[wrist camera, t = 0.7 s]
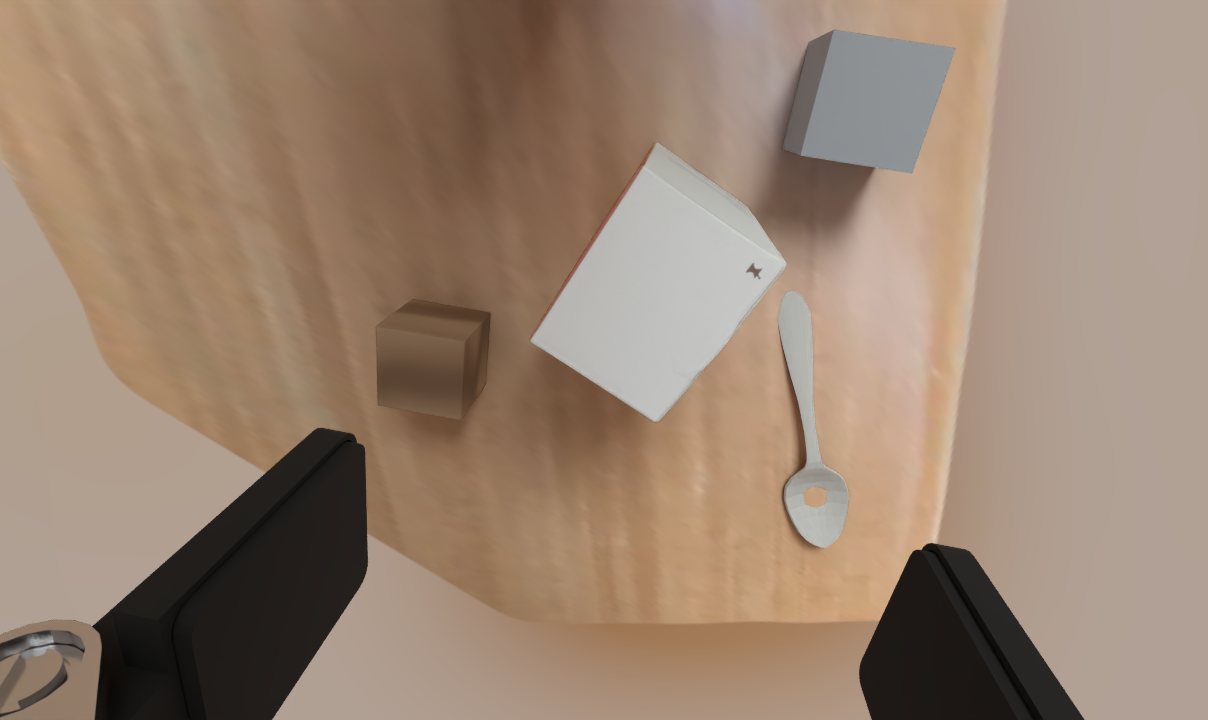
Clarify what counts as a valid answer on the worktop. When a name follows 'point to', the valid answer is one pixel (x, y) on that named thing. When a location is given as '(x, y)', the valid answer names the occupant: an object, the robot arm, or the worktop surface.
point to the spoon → (809, 434)
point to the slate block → (866, 99)
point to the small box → (660, 286)
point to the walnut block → (432, 358)
